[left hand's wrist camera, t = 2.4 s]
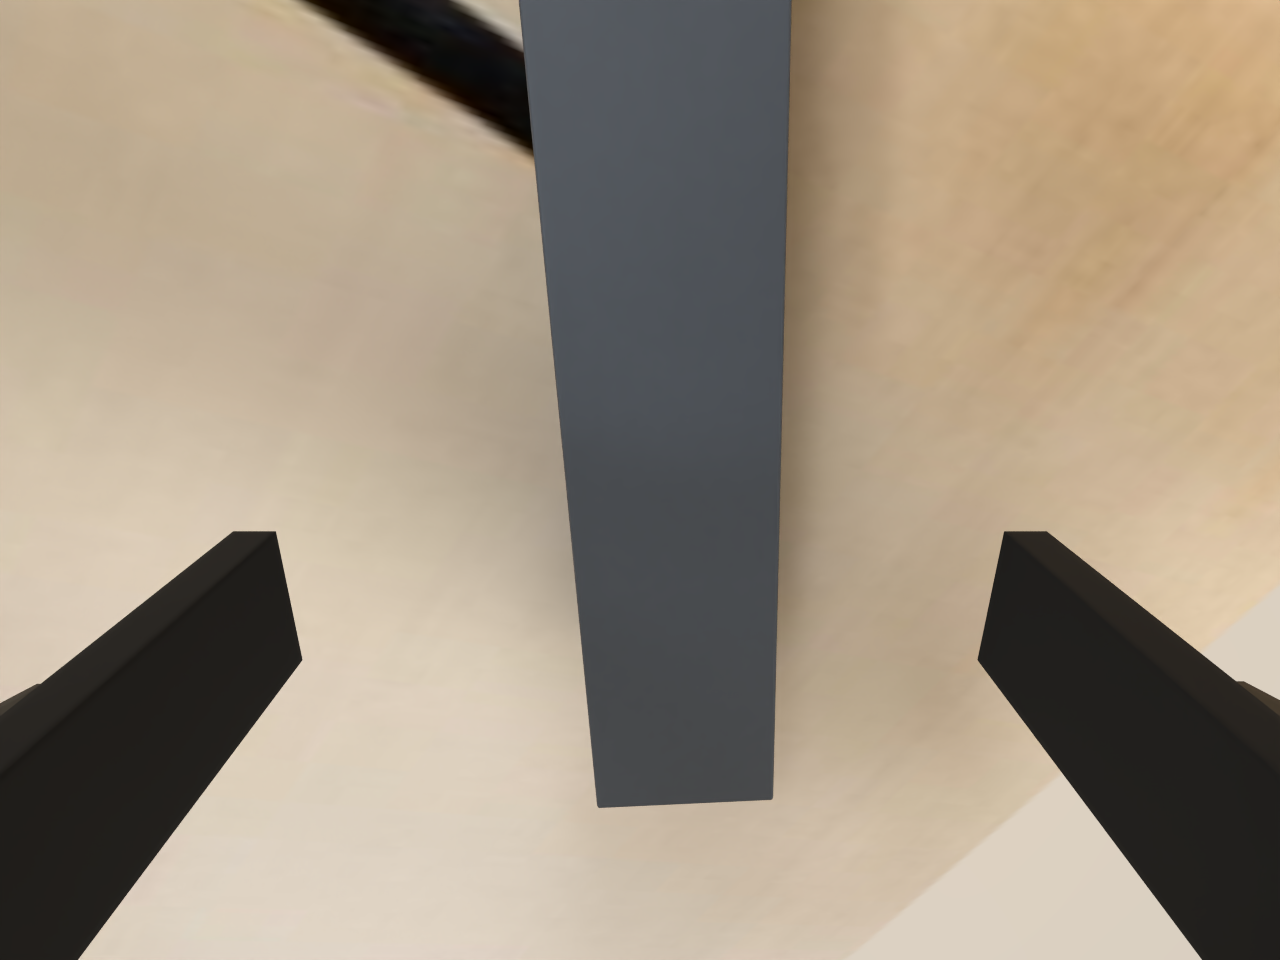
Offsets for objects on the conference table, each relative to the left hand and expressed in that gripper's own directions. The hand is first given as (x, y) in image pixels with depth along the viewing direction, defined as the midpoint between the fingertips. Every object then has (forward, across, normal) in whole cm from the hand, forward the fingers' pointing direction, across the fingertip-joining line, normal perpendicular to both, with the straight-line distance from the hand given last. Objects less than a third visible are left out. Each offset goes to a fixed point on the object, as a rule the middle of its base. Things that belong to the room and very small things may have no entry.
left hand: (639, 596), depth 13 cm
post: (+13, +1, -28) cm, 31 cm away
